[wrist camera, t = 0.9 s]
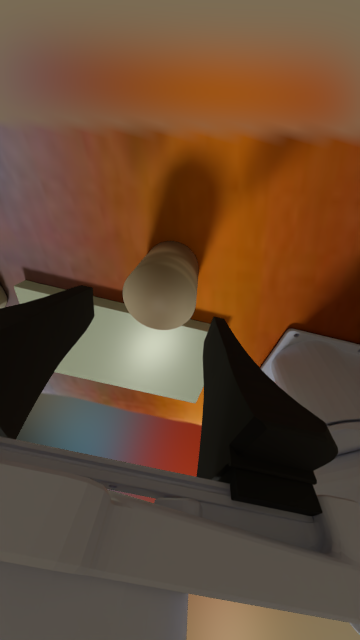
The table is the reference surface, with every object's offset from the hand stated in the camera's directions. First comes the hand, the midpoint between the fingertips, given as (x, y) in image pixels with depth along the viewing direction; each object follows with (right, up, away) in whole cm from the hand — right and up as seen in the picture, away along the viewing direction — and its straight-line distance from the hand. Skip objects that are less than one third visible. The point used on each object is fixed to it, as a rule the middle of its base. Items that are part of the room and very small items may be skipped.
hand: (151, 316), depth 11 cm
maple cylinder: (+1, +4, +6) cm, 8 cm away
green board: (-5, -4, +13) cm, 14 cm away
